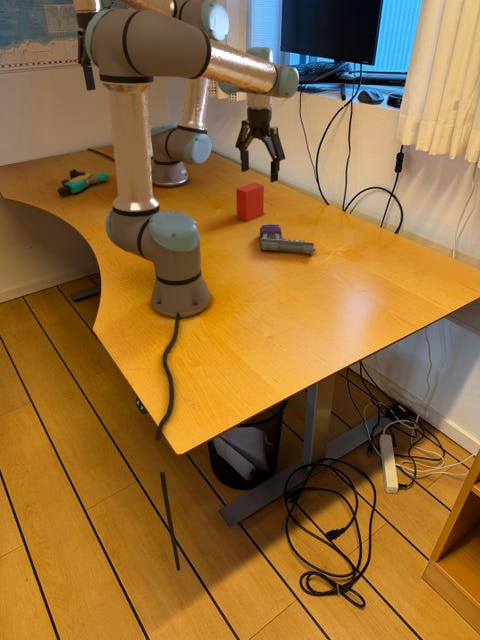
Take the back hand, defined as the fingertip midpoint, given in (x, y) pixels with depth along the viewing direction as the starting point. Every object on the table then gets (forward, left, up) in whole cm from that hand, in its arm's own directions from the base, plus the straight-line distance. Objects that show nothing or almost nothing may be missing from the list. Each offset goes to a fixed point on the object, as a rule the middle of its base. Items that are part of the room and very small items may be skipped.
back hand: (102, 93), depth 148 cm
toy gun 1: (-38, +1, -41) cm, 56 cm away
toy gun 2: (+57, +26, -41) cm, 75 cm away
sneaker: (-55, +47, -41) cm, 83 cm away
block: (+32, +33, -41) cm, 61 cm away
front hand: (+39, +31, -24) cm, 55 cm away
